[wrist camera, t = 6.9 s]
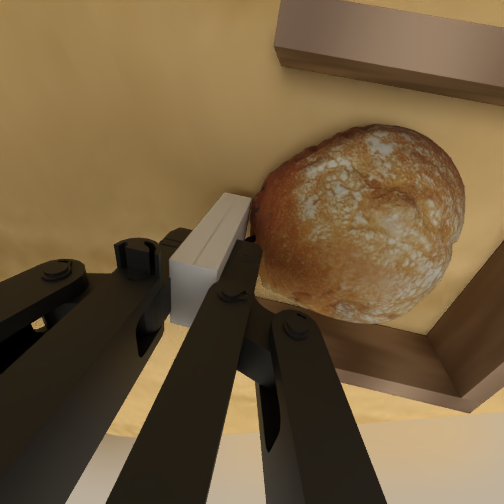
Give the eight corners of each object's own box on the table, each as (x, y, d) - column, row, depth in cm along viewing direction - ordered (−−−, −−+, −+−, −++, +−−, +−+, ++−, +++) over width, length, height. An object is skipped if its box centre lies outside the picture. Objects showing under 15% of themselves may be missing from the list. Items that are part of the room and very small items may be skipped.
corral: (238, 304, 19) (224, 354, 15) (287, 31, 11) (282, -10, 7) (433, 350, 19) (469, 413, 15) (657, 96, 10) (883, 92, 6)
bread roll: (380, 252, 19) (497, 317, 12) (258, 302, 18) (311, 406, 11) (377, 110, 15) (564, 82, 8) (212, 163, 13) (254, 189, 6)
